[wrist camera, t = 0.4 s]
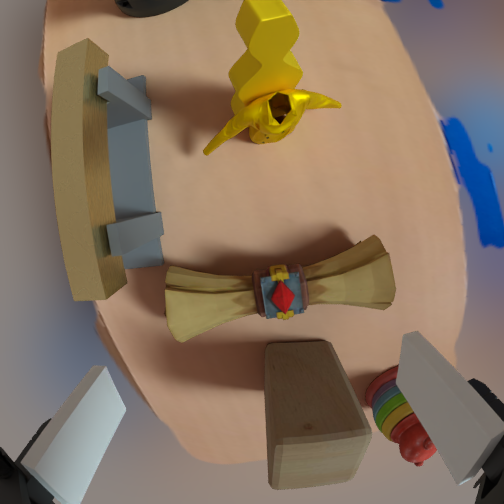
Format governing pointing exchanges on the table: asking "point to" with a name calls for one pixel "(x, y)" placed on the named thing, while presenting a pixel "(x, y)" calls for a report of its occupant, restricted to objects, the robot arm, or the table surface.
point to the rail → (83, 173)
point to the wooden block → (311, 417)
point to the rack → (131, 171)
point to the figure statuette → (267, 77)
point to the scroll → (278, 289)
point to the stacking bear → (398, 418)
